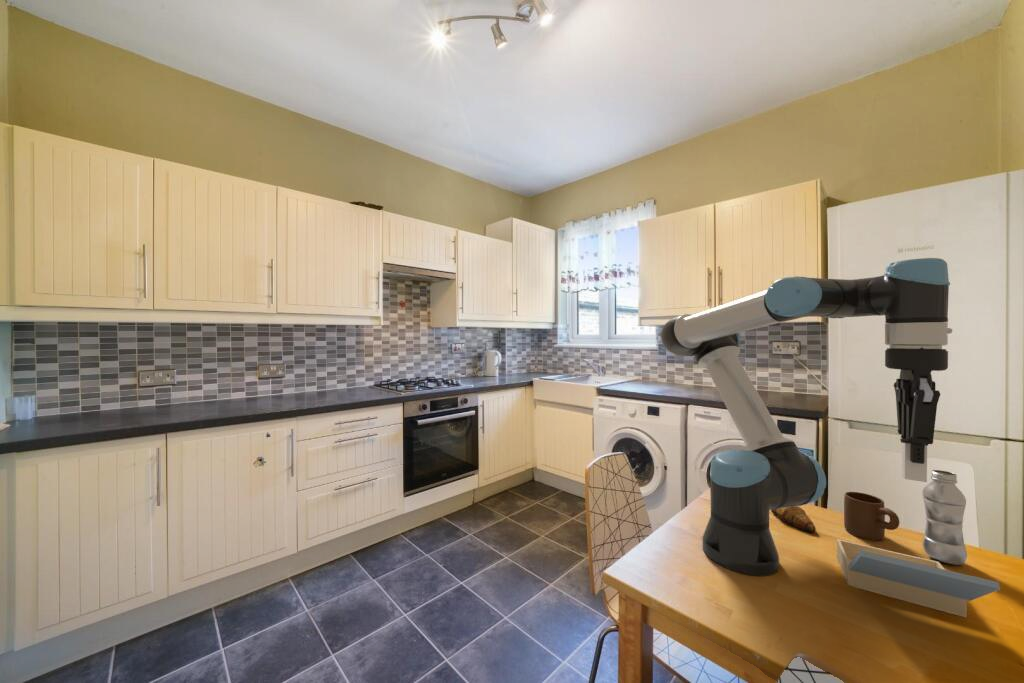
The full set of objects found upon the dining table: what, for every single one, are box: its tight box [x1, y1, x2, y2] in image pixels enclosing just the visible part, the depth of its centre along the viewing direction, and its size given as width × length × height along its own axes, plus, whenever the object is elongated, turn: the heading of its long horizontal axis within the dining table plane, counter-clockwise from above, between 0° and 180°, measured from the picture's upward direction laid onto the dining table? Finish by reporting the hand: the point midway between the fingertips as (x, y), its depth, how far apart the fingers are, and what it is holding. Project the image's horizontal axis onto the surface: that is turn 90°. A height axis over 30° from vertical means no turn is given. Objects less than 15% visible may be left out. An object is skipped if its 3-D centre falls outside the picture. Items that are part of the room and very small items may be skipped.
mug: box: [843, 491, 900, 542], centre depth 92 cm, size 12×8×9 cm, turn 2°
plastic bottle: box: [921, 469, 968, 566], centre depth 83 cm, size 6×7×20 cm
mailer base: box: [836, 538, 968, 619], centre depth 75 cm, size 16×12×4 cm
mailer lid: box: [849, 550, 1001, 602], centre depth 66 cm, size 16×12×1 cm
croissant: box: [770, 506, 817, 533], centre depth 101 cm, size 14×7×5 cm, turn 6°
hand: (914, 479), depth 65 cm, fingers closed
